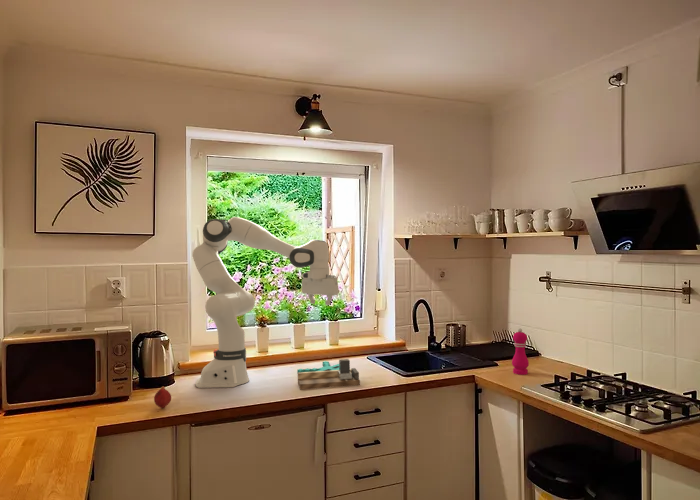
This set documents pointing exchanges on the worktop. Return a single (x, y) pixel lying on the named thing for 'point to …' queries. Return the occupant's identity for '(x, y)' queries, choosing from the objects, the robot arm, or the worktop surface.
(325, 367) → the alien figure
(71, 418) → the worktop surface
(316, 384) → the wooden slatted tray
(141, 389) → the worktop surface
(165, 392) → the onion
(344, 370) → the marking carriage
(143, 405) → the worktop surface
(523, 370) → the pepper mill
